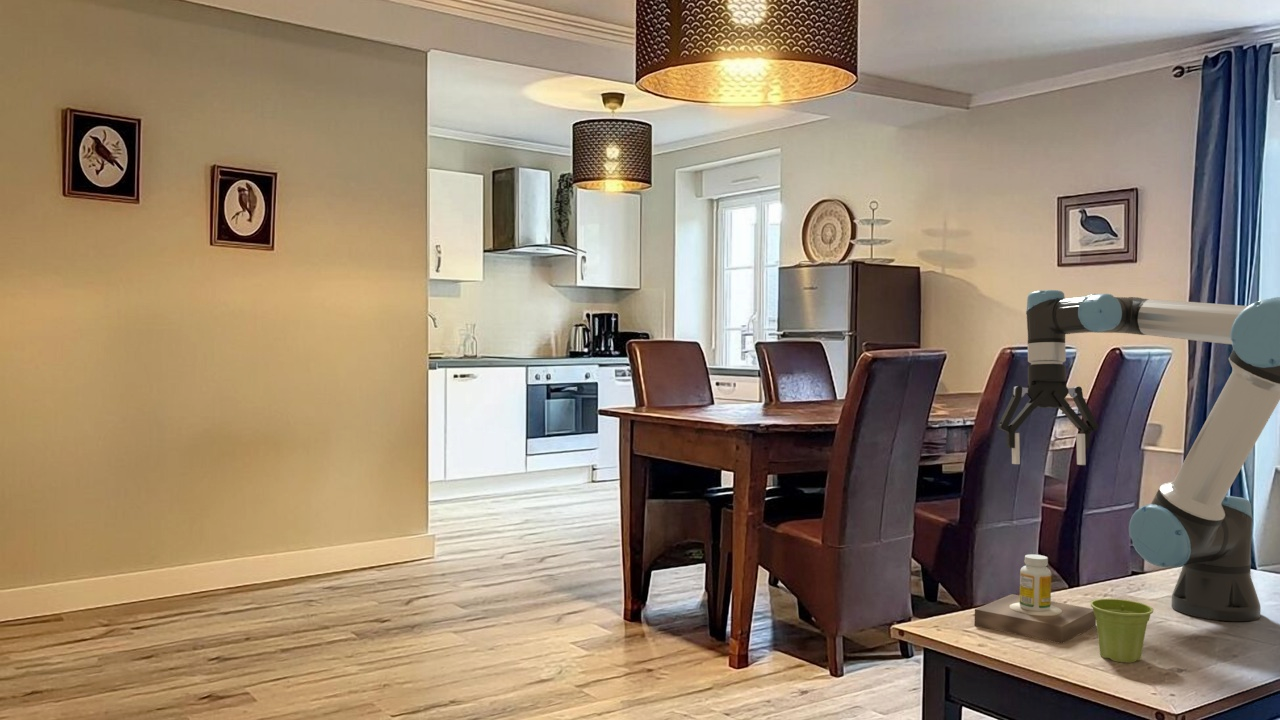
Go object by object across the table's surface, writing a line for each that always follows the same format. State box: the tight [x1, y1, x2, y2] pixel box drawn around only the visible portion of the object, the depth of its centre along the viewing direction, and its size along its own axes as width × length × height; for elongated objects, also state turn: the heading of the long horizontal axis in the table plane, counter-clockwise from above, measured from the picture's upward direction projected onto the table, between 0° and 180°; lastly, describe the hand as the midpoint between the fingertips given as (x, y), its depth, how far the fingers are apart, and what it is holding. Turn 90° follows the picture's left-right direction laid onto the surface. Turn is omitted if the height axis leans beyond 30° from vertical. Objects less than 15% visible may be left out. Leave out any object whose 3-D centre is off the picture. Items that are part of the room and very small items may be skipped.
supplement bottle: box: [1019, 553, 1052, 612], centre depth 189 cm, size 5×5×10 cm
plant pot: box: [1089, 598, 1154, 664], centre depth 170 cm, size 9×9×9 cm
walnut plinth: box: [974, 593, 1097, 645], centre depth 189 cm, size 16×16×3 cm
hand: (1048, 464), depth 216 cm, fingers open, 13 cm apart
